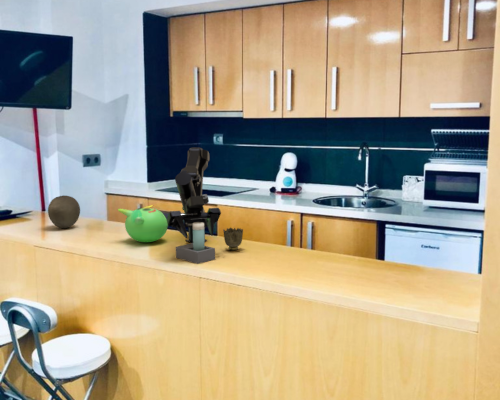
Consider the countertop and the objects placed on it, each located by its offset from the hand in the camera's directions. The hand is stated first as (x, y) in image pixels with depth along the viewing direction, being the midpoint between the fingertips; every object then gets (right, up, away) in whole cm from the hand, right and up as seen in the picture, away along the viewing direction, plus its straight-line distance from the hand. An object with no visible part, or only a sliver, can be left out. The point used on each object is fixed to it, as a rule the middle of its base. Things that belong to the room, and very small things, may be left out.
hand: (199, 236), depth 185 cm
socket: (-2, -8, +4) cm, 9 cm away
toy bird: (-25, -4, +30) cm, 40 cm away
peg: (0, -8, +3) cm, 9 cm away
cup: (+11, -6, +15) cm, 20 cm away
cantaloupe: (-67, -1, +58) cm, 89 cm away
